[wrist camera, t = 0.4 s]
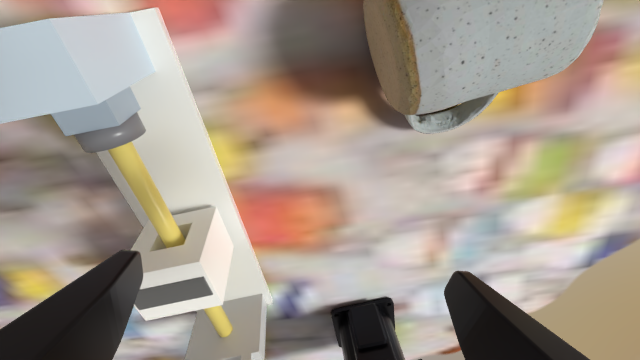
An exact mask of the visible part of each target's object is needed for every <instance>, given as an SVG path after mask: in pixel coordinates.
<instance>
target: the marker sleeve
mask: <svg viewBox="0 0 640 360" xmlns="http://www.w3.org/2000/svg"><path fill="white" fill-rule="evenodd" d="M172 216H173V218H174V220H175V222H176V224H177V225H178V227H179V229H180V231H181V233H182V235H183V236H184V238H185V240H186V241H185V243H184V245H180V246H175V247H170V248H166V246H165V245H164V243H163V241H162V240H161V238H160V236H159V235H158V233H157V231H156V230H155V228H154V226H153V225H152V223H151V221H150V220H148V222H147V223H146V225H145V227H144V228H143V230H142V232H141V233H140V235H139V237H138V238H137V240H136V242H135V243H134V245H133V247H132V248H131V250H134V251H139V252H140V254H141V259H142V267H143V280H142V284H141V287H140V290H139V292H138V295H137V298H136V301H135V303H134V307H135V308H136V309H137V310H138V312H139V313H140V314H141V316H142V317H143V318H144V319H145V321H148V320H153V319H158V318H162V317H167V316H172V315H177V314H181V313H186V312H191V311H196V310H201V309H205V308H210V307H215V306H220V305H223V301H224V295H225V290H226V285H227V279H228V274H229V269H230V263H231V258H232V253H233V247H234V246H233V243H232V241H231V239H230V236H229V234H228V232H227V230H226V227H225V225H224V223H223V220H222V218H221V216H220V214H219V211H218V209H217V207H211V208H206V209H201V210H196V211H191V212H187V213H182V214H177V215H172Z"/></svg>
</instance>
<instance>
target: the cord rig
mask: <svg viewBox="0 0 640 360" xmlns="http://www.w3.org/2000/svg"><path fill="white" fill-rule="evenodd" d="M47 114H51V115H52V117H53V118H54V120H55V121H56V123H57V124H58V126H59V127H60V129H61V130H62V132H63V133H64V135H65V136H70V135H74V136H75V137H76V139H77V140H78V142H79V143H80V145H81V147H82V148H83V150H84V151H85V152H88V153H94V152H96V153H97V155H98V157H99V158H100V160H101V161H102V163H103V165H104V166H105V168H106V169H107V171H108V173H109V174H110V176H111V177H112V179H113V180H114V182H115V184H116V185H117V187H118V188H119V190H120V192H121V193H122V195H123V196H124V198H125V200H126V201H127V203H128V204H129V206H130V208H131V209H132V211H133V212H134V214H135V216H136V217H137V219H138V220H139V222H140V224H141V225H142V227H143V228H144V227H145V225H146V223H147V222H148V220H150V221H151V223H152V225H153V226H154V228H155V230H156V231H157V233H158V235H159V236H160V238H161V240H162V241H163V243H164V245H165V246H166V248H170V247H175V246H180V245H184V243H185V241H186V240H185V238H184V236H183V235H182V233H181V231H180V229H179V227H178V225H177V224H176V222H175V220H174V218H173V216H172V215H177V214H182V213H187V212H191V211H196V210H201V209H206V208H211V207H217V209H218V211H219V214H220V216H221V218H222V220H223V223H224V225H225V227H226V230H227V232H228V234H229V236H230V239H231V241H232V243H233V246H234V247H233V253H232V258H231V263H230V269H229V274H228V279H227V285H226V290H225V295H224V301H223V305H220V306H215V307H210V308H205V309H201V310H196V313H197V315H196V319H195V323H194V326H193V330H192V334H191V338H190V341H189V345H188V349H187V353H186V357H185V360H265V337H266V313H267V305H272V304H273V299H272V296H271V294H270V291H269V288H268V286H267V283H266V281H265V278H264V276H263V273H262V271H261V268H260V265H259V263H258V260H257V258H256V255H255V253H254V250H253V248H252V245H251V242H250V240H249V237H248V235H247V232H246V230H245V227H244V225H243V222H242V220H241V217H240V214H239V212H238V209H237V207H236V204H235V202H234V199H233V197H232V194H231V191H230V189H229V186H228V184H227V181H226V179H225V176H224V174H223V171H222V168H221V166H220V163H219V161H218V158H217V156H216V153H215V151H214V148H213V146H212V143H211V140H210V138H209V135H208V133H207V130H206V128H205V125H204V123H203V120H202V117H201V115H200V112H199V110H198V107H197V105H196V102H195V100H194V97H193V95H192V92H191V89H190V87H189V84H188V82H187V79H186V77H185V74H184V72H183V69H182V66H181V64H180V61H179V59H178V56H177V54H176V51H175V49H174V46H173V43H172V41H171V38H170V36H169V33H168V31H167V28H166V26H165V23H164V21H163V18H162V15H161V13H160V10H159V8H150V9H145V10H140V11H135V12H130V13H116V14H103V15H90V16H77V17H64V18H51V19H45V20H39V21H34V22H29V23H24V24H19V25H14V26H9V27H3V28H0V124H1V123H6V122H11V121H17V120H22V119H27V118H32V117H37V116H42V115H47Z"/></svg>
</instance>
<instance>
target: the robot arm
mask: <svg viewBox="0 0 640 360" xmlns="http://www.w3.org/2000/svg"><path fill="white" fill-rule="evenodd" d="M142 280H143V267H142V259H141V254H140V252H139V251H134V250H121V251H119V252H117V253H116V254H114V255H113V256H111V257H110V258H108V259H107V260H105V261H104V262H102V263H101V264H99V265H98V266H96V267H94V268H93V269H91V270H90V271H88V272H87V273H85V274H84V275H82V276H81V277H79V278H78V279H76V280H75V281H73V282H72V283H70V284H69V285H67V286H66V287H64V288H62V289H61V290H59V291H58V292H56V293H55V294H53V295H52V296H50V297H49V298H47V299H46V300H44V301H43V302H41V303H40V304H38V305H37V306H35V307H34V308H32V309H31V310H29V311H27V312H26V313H24V314H23V315H21V316H20V317H18V318H17V319H15V320H14V321H12V322H11V323H9V324H8V325H6V326H5V327H3V328H2V329H0V360H112V359H113V357H114V355H115V353H116V351H117V348H118V346H119V344H120V342H121V339H122V337H123V334H124V331H125V329H126V326H127V323H128V320H129V317H130V315H131V312H132V309H133V306H134V303H135V301H136V298H137V295H138V292H139V290H140V287H141V284H142ZM444 296H445V299H446V303H447V306H448V309H449V313H450V316H451V319H452V322H453V326H454V329H455V332H456V335H457V339H458V342H459V345H460V347H461V350H462V352H463V355H464V357H465V360H590V359H588V358H587V357H586V356H584V355H583V354H582V353H580V352H579V351H577V350H576V349H575V348H573V347H572V346H570V345H569V344H568V343H566V342H565V341H564V340H562V339H561V338H560V337H558V336H557V335H555V334H554V333H553V332H551V331H550V330H548V329H547V328H546V327H544V326H543V325H542V324H540V323H539V322H538V321H536V320H535V319H533V318H532V317H531V316H529V315H528V314H527V313H525V312H524V311H522V310H521V309H520V308H518V307H517V306H516V305H514V304H513V303H511V302H510V301H509V300H507V299H506V298H505V297H503V296H502V295H500V294H499V293H498V292H496V291H495V290H494V289H492V288H491V287H489V286H488V285H487V284H485V283H484V282H483V281H481V280H480V279H478V278H477V277H476V276H474V275H473V274H472V273H470V272H467V271H455V272H454V273H453V275H452V276H451V278H450V280H449V282H448V284H447V285H446V287H445V290H444ZM331 315H332V320H333V324H334V328H335V332H336V336H337V341H338V345H339V347H342V350H343V356H344V360H405V358H404V355H403V352H402V350H401V347H400V344H399V341H398V338H397V335H396V332H395V320H394V303H393V301H392V299H391V298H386V299H381V300H376V301H371V302H367V303H362V304H357V305H352V306H347V307H343V308H338V309H334V310H332V311H331ZM419 360H422V359H419Z"/></svg>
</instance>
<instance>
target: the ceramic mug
mask: <svg viewBox="0 0 640 360" xmlns="http://www.w3.org/2000/svg"><path fill="white" fill-rule="evenodd" d="M602 4H603V0H364V2H363V12H364V23H365V29H366V35H367V40H368V44H369V49H370V53H371V57H372V60H373V63H374V67H375V70H376V73H377V76H378V79H379V82H380V84H381V87H382V89H383V92H384V94H385V96H386V98H387V100H388V101H389V103H390V104H391V106H392V107H393V108H394V109H395V110H396V111H398V112H400V113H402V114H404V116H405V117H406V119H407V121H408V123H409V124H410V125H411V127H412V128H413V129H414V130H416V131H418V132H421V133H426V134H433V133H440V132H445V131H449V130H452V129H455V128H457V127H459V126H461V125H463V124H465V123H467V122H469V121H470V120H472V119H473V118H475V117H476V116H478V115H479V114H480V113H481V112H482V111H483V110H484V109H485V108H486V107H487V106H488V105H489V104H490V103H491V102H492V100H493V99H494V98H495V97H496V95H497V94H498V93H499V92H501V91H504V90H508V89H511V88H514V87H518V86H521V85H524V84H528V83H531V82H535V81H538V80H541V79H545V78H548V77H550V76H552V75H555V74H557V73H559V72H561V71H562V70H564V69H565V68H567V67H568V66H569V65H570V64H571V63H572V62H573V61H575V60H576V59H577V58H578V57H579V55H580V54H581V52H582V51H583V49H584V48H585V47H586V45H587V43H588V42H589V40H590V39H591V37H592V35H593V33H594V30H595V28H596V25H597V23H598V20H599V17H600V9H601V7H602ZM460 103H461V104H460ZM457 104H460V105H458V106H456V107H455V108H453V109H451V110H447V111H444V112H440V113H436V114H433V115H425V116H422V117H420V116H416V115H418V114H425V113H431V112H435V111H439V110H443V109H446V108H449V107H452V106H455V105H457Z"/></svg>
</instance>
